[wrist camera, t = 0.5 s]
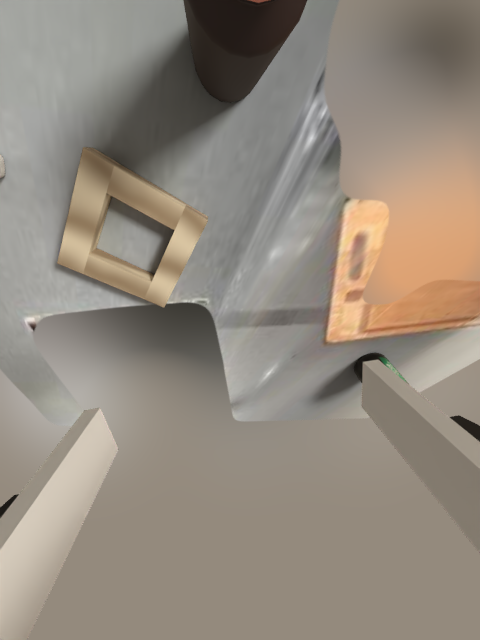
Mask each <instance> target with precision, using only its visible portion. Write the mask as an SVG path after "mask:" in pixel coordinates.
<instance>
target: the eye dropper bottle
mask: <svg viewBox="0 0 480 640" xmlns="http://www.w3.org/2000/svg"><path fill="white" fill-rule="evenodd" d="M4 176H5V165H4V159H3V157H2V156H1V155H0V178H2V177H4Z"/></svg>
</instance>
